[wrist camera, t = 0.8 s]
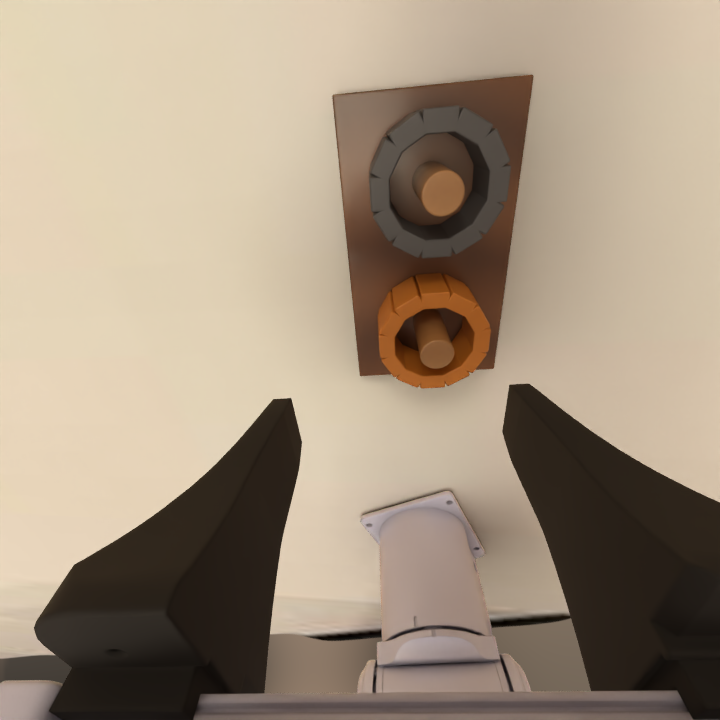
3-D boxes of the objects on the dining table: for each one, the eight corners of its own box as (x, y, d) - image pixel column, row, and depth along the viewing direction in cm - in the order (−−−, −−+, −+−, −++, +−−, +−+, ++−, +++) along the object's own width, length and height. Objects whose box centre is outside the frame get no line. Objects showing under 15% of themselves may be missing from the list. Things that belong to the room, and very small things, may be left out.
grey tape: (484, 237, 18) (501, 253, 16) (373, 245, 18) (374, 262, 16) (498, 102, 15) (519, 99, 13) (365, 115, 15) (364, 114, 13)
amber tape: (481, 269, 19) (496, 288, 17) (473, 358, 22) (484, 385, 20) (375, 277, 19) (376, 297, 17) (380, 364, 22) (382, 390, 20)
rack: (490, 361, 23) (513, 408, 19) (360, 368, 23) (358, 415, 20) (527, 76, 15) (577, 62, 12) (333, 95, 16) (322, 88, 12)
